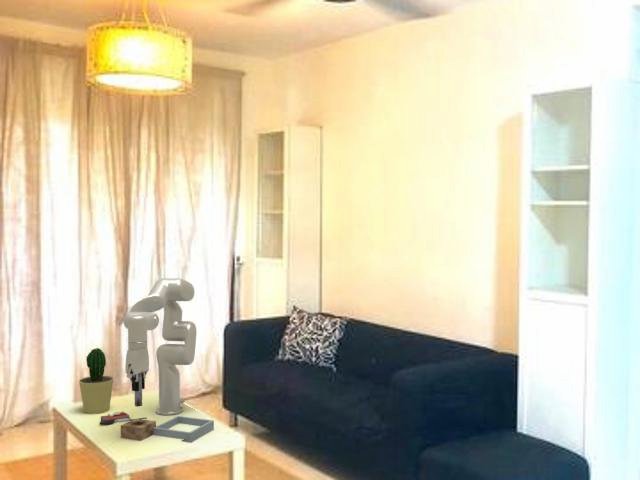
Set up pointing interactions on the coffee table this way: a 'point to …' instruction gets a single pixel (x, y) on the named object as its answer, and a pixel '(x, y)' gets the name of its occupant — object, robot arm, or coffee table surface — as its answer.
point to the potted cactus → (96, 384)
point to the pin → (139, 393)
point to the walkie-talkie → (116, 418)
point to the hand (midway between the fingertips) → (138, 389)
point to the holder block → (137, 429)
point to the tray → (187, 436)
